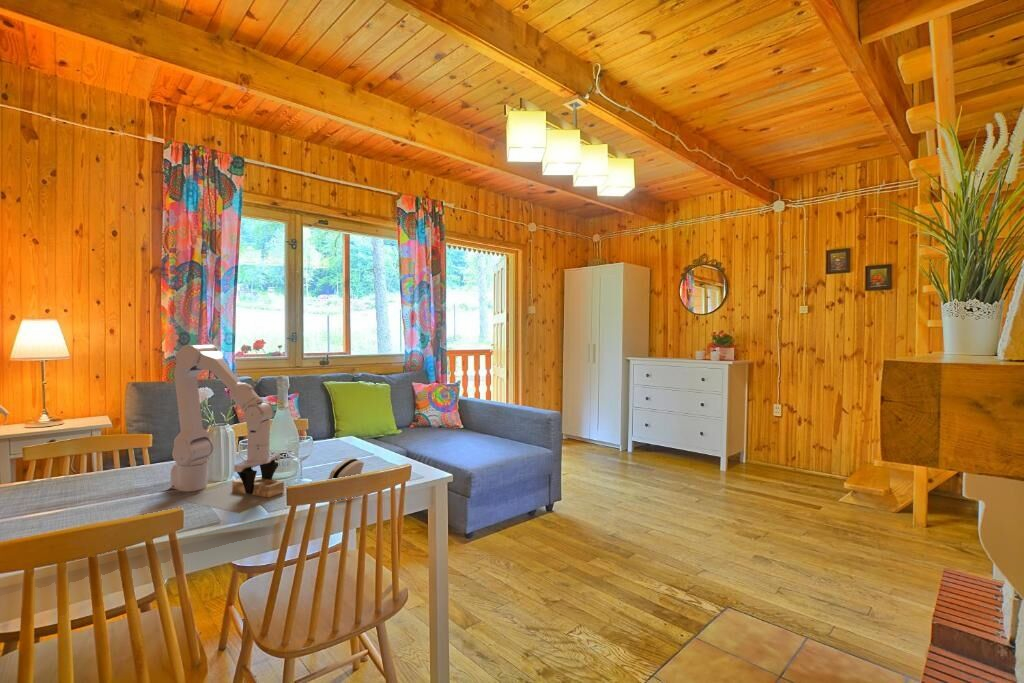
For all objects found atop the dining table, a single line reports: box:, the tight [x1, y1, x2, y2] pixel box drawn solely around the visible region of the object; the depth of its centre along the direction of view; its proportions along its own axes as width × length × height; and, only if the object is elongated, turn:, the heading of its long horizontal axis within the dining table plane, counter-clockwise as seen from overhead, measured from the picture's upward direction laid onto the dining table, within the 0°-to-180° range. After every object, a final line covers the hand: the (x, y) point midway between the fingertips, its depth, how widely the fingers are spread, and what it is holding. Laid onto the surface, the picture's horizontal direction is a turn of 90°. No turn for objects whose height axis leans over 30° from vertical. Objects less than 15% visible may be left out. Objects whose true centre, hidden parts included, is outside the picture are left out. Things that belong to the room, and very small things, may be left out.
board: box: [179, 482, 288, 514], centre depth 143 cm, size 22×22×4 cm
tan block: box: [231, 476, 285, 498], centre depth 145 cm, size 14×5×3 cm, turn 69°
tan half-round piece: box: [327, 457, 365, 480], centre depth 156 cm, size 17×5×10 cm, turn 171°
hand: (257, 490), depth 145 cm, fingers closed on tan block, 5 cm apart
